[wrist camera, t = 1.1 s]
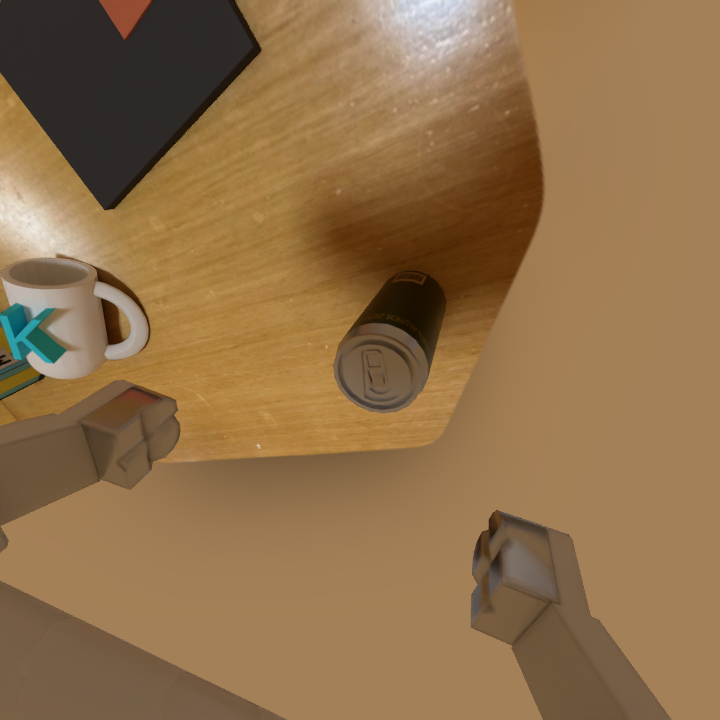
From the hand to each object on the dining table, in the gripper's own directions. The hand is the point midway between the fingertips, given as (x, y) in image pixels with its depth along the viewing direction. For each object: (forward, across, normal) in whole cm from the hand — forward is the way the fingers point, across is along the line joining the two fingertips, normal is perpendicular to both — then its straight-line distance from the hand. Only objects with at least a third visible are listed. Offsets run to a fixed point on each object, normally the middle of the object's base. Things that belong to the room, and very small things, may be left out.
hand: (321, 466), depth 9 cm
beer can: (+23, 0, +4) cm, 23 cm away
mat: (+22, +27, -9) cm, 36 cm away
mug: (+23, +33, +15) cm, 43 cm away
